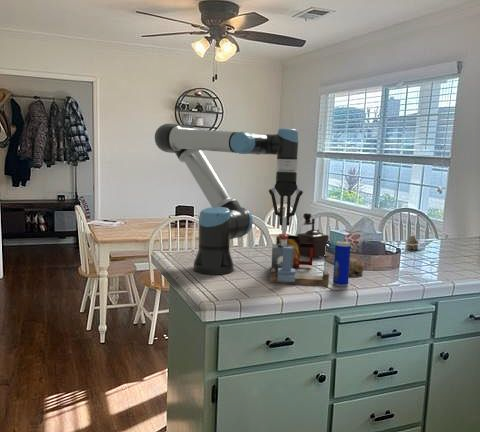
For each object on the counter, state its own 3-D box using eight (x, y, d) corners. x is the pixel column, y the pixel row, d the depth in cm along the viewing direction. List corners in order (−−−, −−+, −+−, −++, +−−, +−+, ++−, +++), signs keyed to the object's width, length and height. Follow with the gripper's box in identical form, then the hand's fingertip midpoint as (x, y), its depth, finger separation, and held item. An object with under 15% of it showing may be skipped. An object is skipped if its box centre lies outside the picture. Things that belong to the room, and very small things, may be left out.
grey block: (271, 274, 179) (272, 248, 177) (271, 269, 187) (272, 243, 186) (292, 275, 178) (294, 249, 177) (292, 270, 186) (293, 244, 185)
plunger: (278, 253, 180) (278, 235, 179) (278, 251, 184) (278, 233, 183) (287, 254, 180) (288, 235, 179) (287, 252, 184) (288, 234, 183)
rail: (270, 282, 168) (270, 271, 167) (270, 278, 173) (271, 267, 173) (328, 285, 166) (328, 274, 165) (326, 281, 171) (327, 270, 171)
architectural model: (420, 251, 237) (421, 236, 236) (410, 252, 234) (411, 236, 233) (414, 249, 240) (415, 235, 239) (404, 250, 237) (405, 235, 236)
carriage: (277, 280, 166) (278, 249, 165) (277, 275, 174) (279, 244, 172) (294, 281, 166) (296, 250, 164) (294, 276, 173) (295, 245, 172)
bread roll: (342, 285, 181) (350, 269, 177) (328, 268, 188) (334, 252, 184) (362, 283, 185) (370, 266, 181) (347, 266, 193) (354, 250, 189)
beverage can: (331, 282, 171) (333, 240, 169) (345, 282, 171) (348, 241, 169) (335, 286, 165) (337, 243, 163) (349, 286, 166) (352, 243, 164)
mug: (313, 268, 191) (314, 238, 190) (281, 270, 187) (282, 239, 185) (301, 262, 200) (303, 234, 199) (271, 264, 196) (272, 235, 194)
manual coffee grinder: (329, 255, 216) (331, 216, 214) (311, 258, 210) (313, 217, 208) (305, 249, 229) (307, 212, 227) (288, 251, 223) (290, 213, 220)
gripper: (268, 170, 175) (266, 234, 178) (304, 172, 174) (301, 236, 177) (269, 170, 182) (266, 231, 185) (303, 171, 181) (301, 233, 184)
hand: (283, 234), depth 181 cm, fingers closed
